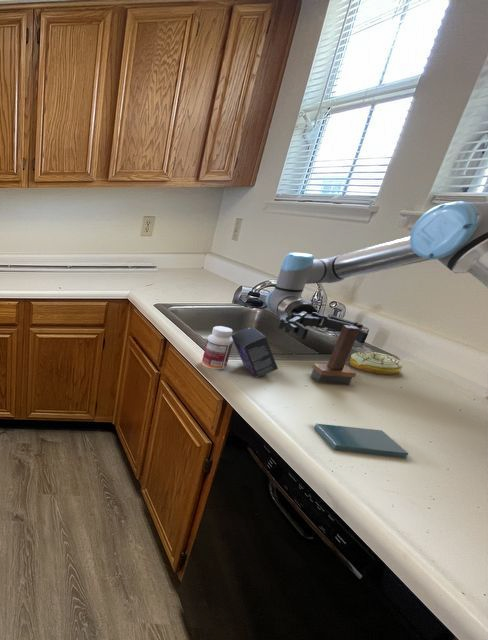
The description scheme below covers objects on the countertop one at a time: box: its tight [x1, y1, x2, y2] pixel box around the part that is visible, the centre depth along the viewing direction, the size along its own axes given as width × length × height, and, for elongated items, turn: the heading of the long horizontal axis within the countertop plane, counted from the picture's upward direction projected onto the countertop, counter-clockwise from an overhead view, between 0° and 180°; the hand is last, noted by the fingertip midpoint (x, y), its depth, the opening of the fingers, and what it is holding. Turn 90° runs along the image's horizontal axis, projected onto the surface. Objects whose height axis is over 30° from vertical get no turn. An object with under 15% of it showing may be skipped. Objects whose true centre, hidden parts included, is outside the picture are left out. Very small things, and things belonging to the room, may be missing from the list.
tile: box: [313, 423, 409, 459], centre depth 83 cm, size 12×8×2 cm, turn 78°
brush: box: [310, 325, 360, 386], centre depth 105 cm, size 8×5×15 cm, turn 78°
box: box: [231, 325, 279, 378], centre depth 110 cm, size 8×6×11 cm
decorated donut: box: [349, 351, 403, 376], centre depth 115 cm, size 10×11×4 cm
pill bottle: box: [201, 325, 234, 370], centre depth 114 cm, size 6×6×11 cm
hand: (334, 336), depth 107 cm, fingers open, 13 cm apart
